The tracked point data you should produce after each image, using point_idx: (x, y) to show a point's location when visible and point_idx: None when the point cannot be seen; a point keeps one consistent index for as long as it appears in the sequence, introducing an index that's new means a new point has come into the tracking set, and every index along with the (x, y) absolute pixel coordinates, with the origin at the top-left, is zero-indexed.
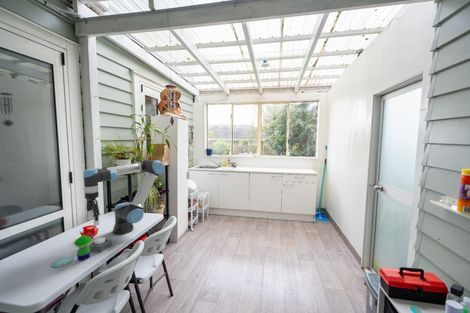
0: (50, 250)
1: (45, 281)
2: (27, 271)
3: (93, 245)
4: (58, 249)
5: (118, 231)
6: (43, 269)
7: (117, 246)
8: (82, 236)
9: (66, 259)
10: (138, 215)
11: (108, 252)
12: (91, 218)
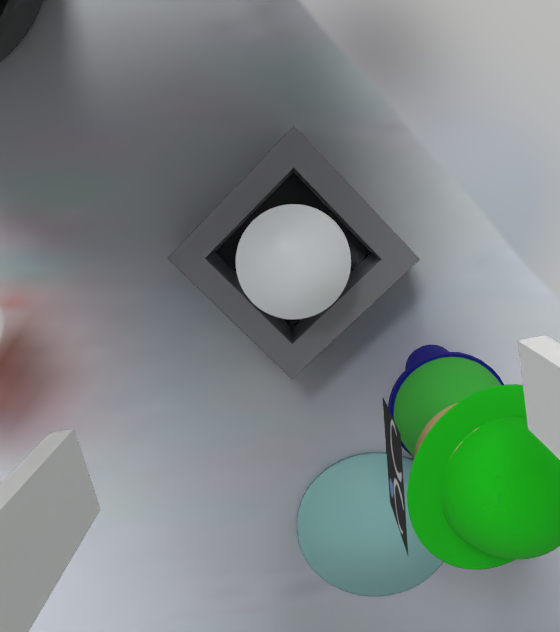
0: (73, 612)
1: None
2: None
3: (331, 324)
4: (89, 563)
5: (7, 9)
6: (405, 626)
7: (374, 85)
8: (547, 528)
9: (358, 508)
10: None
11: (455, 187)
12: (69, 466)
